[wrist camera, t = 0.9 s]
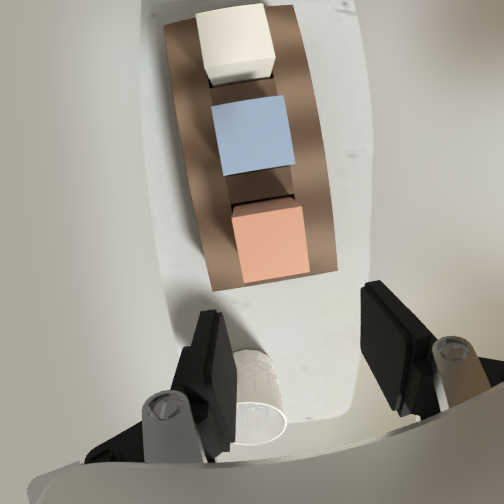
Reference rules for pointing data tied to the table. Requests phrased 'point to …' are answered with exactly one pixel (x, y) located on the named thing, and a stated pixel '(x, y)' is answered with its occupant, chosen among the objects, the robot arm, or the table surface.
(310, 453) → the robot arm
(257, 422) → the white cup
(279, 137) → the slate key
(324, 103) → the table surface
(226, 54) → the cream key
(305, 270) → the peach block
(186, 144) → the brown long flat block
